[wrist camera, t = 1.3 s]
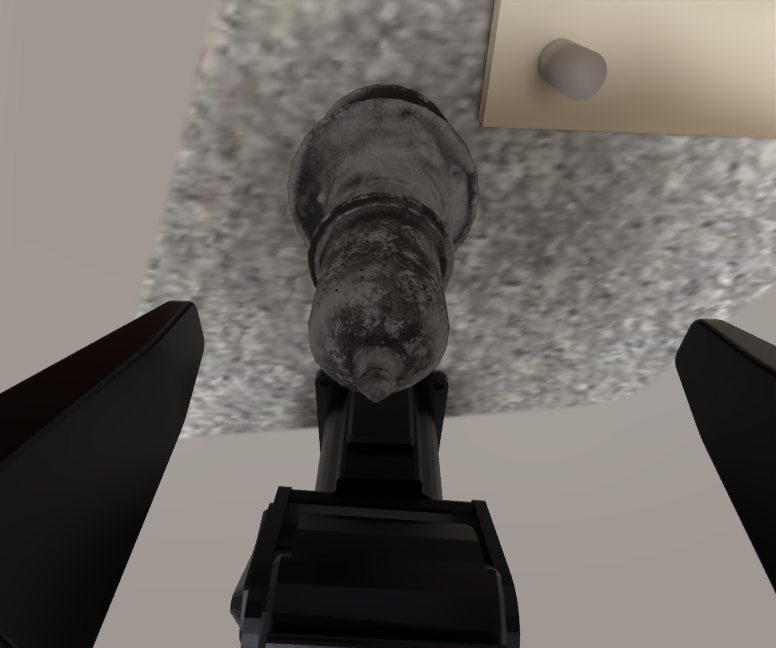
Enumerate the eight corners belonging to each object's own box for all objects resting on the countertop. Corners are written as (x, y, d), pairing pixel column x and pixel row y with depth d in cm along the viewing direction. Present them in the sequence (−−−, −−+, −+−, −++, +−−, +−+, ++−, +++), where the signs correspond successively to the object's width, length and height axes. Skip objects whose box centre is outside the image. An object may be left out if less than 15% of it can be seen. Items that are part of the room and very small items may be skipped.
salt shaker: (498, 153, 18) (628, 385, 8) (394, 262, 20) (396, 533, 11) (372, 31, 15) (339, 152, 6) (273, 172, 18) (138, 414, 8)
